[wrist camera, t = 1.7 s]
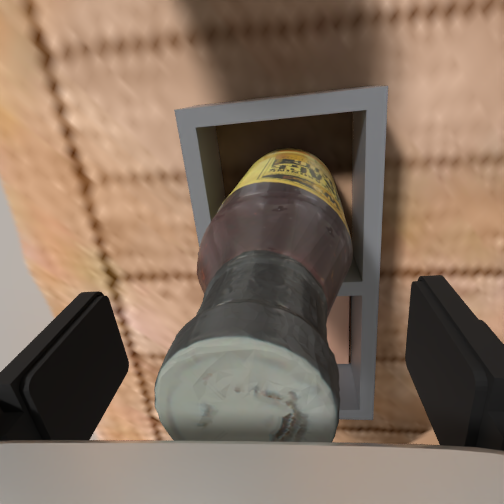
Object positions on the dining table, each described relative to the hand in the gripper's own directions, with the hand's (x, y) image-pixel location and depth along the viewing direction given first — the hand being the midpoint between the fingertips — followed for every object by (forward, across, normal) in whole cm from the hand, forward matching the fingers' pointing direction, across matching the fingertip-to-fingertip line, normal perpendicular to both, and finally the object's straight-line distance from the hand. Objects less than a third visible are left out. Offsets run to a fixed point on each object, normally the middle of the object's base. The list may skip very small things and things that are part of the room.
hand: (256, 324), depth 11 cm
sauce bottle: (+16, -1, 0) cm, 16 cm away
